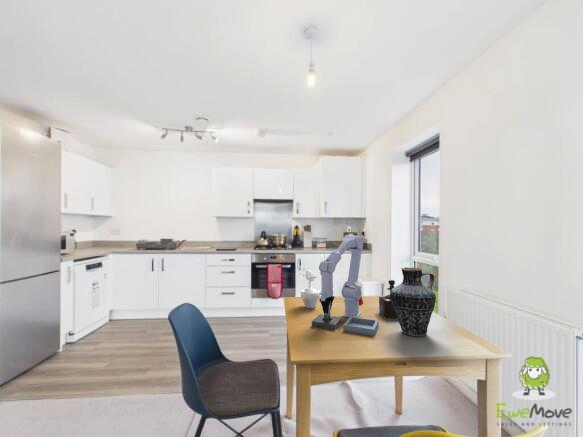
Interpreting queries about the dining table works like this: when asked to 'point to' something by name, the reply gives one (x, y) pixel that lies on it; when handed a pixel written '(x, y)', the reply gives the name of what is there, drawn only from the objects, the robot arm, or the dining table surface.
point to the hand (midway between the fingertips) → (327, 311)
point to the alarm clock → (360, 301)
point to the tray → (361, 326)
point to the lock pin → (327, 316)
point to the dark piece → (387, 304)
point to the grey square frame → (327, 322)
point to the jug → (413, 301)
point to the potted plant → (310, 292)
